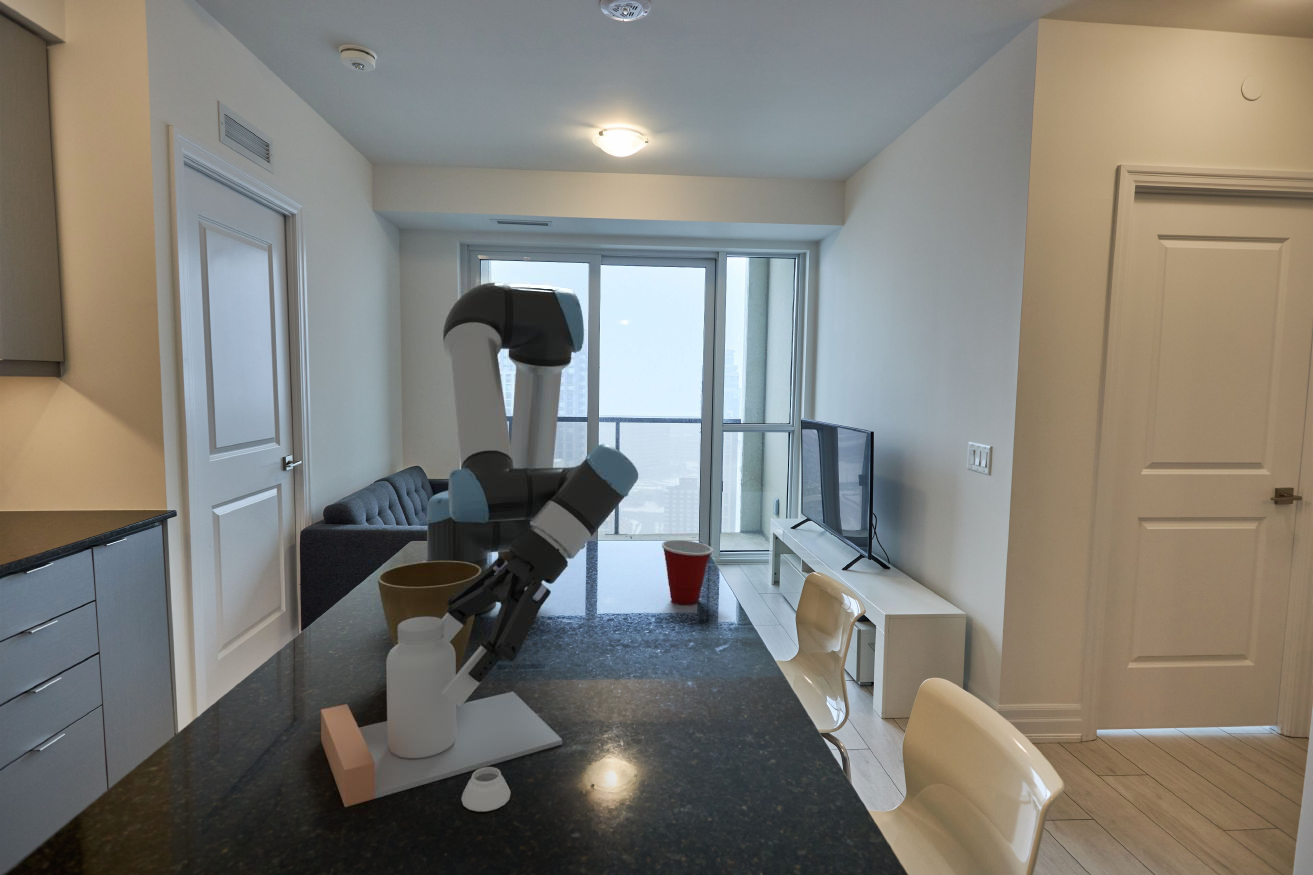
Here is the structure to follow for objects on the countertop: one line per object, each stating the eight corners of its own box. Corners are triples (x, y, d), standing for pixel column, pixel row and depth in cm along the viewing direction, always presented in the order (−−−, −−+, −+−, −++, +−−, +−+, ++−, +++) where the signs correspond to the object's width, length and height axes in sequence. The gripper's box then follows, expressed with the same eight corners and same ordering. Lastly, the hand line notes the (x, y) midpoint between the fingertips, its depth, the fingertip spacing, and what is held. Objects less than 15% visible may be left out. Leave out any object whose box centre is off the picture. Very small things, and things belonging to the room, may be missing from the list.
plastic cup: (708, 611, 140) (709, 552, 139) (655, 606, 142) (656, 548, 141) (714, 595, 151) (716, 540, 150) (665, 591, 153) (666, 537, 152)
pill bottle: (397, 728, 89) (397, 612, 88) (462, 727, 89) (462, 612, 88) (377, 761, 81) (377, 634, 80) (448, 760, 81) (448, 634, 80)
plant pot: (451, 649, 117) (451, 555, 116) (499, 676, 106) (500, 573, 105) (361, 673, 106) (361, 570, 105) (405, 706, 96) (404, 592, 95)
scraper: (321, 740, 86) (320, 709, 86) (512, 695, 100) (513, 668, 100) (344, 806, 73) (344, 770, 73) (562, 744, 87) (562, 712, 86)
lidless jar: (457, 815, 72) (506, 814, 73) (457, 788, 72) (506, 787, 72) (466, 788, 77) (512, 787, 78) (467, 762, 77) (512, 761, 77)
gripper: (611, 584, 83) (490, 737, 76) (531, 542, 104) (429, 660, 97) (571, 545, 80) (440, 702, 73) (496, 510, 101) (389, 629, 94)
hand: (434, 678), depth 85 cm, fingers open, 13 cm apart
